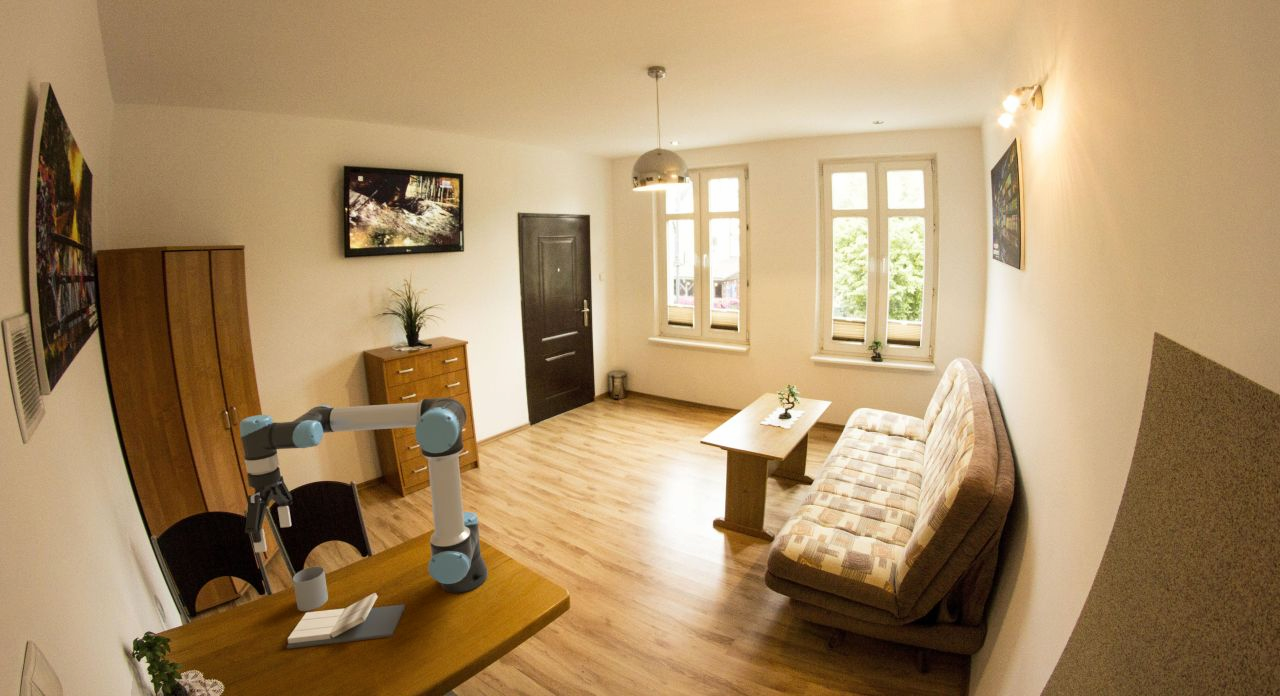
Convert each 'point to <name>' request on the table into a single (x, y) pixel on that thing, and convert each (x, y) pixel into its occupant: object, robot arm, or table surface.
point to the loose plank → (354, 615)
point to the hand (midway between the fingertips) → (274, 538)
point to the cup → (310, 588)
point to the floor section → (321, 623)
